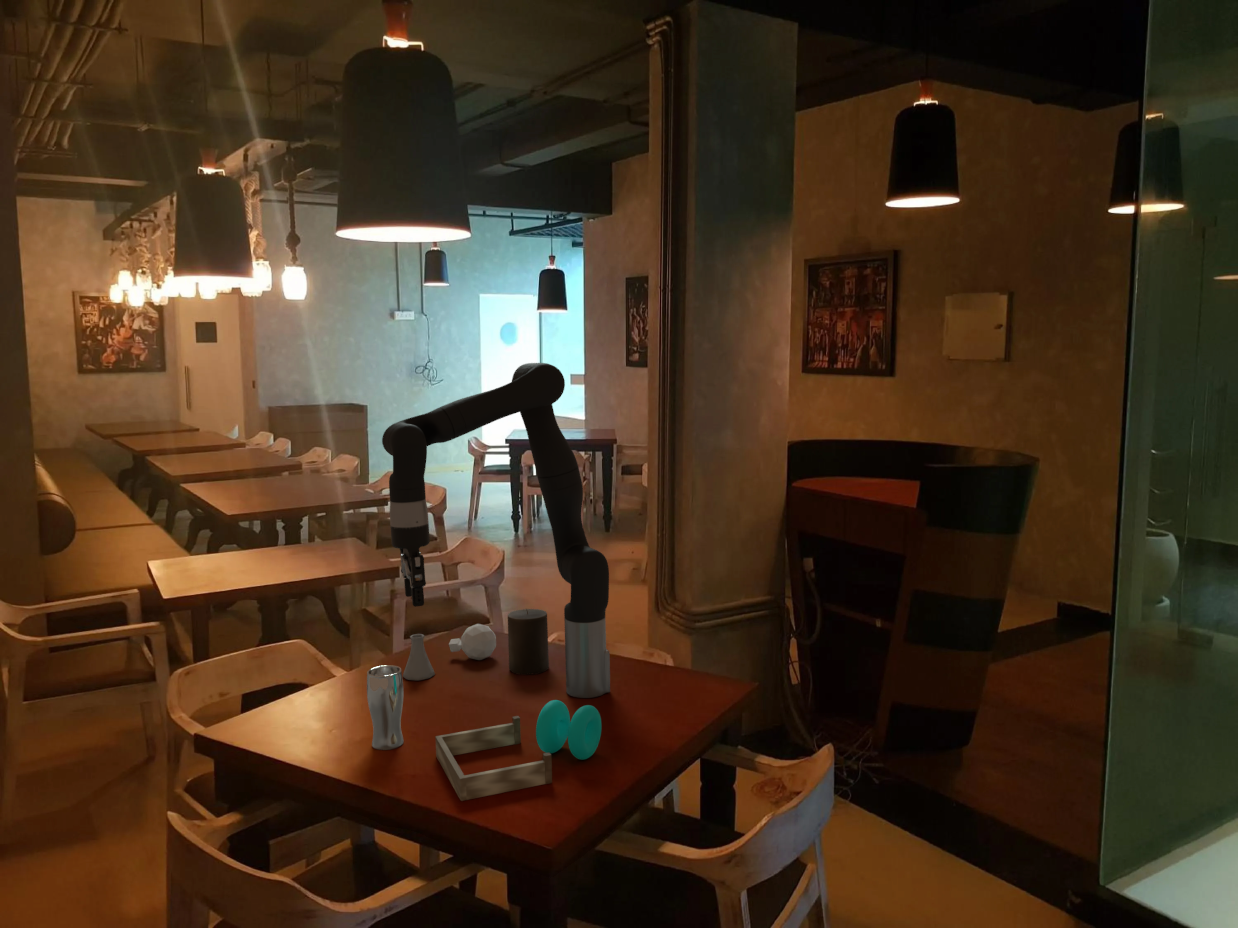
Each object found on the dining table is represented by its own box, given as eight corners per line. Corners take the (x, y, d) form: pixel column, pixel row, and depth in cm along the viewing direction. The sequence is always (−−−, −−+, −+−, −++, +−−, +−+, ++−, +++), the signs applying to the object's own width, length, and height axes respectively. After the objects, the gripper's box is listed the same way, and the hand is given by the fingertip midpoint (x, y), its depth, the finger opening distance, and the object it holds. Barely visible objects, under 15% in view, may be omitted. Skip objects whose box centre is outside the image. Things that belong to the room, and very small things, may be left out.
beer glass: (372, 753, 182) (368, 678, 180) (367, 740, 188) (363, 667, 187) (408, 747, 185) (405, 673, 183) (402, 734, 191) (398, 662, 189)
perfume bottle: (503, 644, 243) (459, 649, 245) (495, 615, 239) (450, 619, 241) (496, 665, 235) (450, 669, 237) (487, 635, 231) (441, 639, 233)
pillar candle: (536, 677, 224) (534, 615, 222) (501, 671, 228) (499, 611, 226) (556, 664, 232) (554, 605, 230) (522, 659, 236) (520, 601, 235)
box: (519, 740, 187) (518, 715, 186) (552, 782, 168) (551, 754, 168) (436, 755, 180) (435, 729, 180) (461, 801, 162) (459, 772, 161)
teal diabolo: (559, 740, 187) (558, 691, 186) (604, 748, 183) (603, 698, 181) (533, 760, 178) (532, 709, 177) (580, 769, 174) (579, 717, 172)
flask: (419, 669, 231) (418, 629, 230) (440, 674, 227) (438, 634, 225) (397, 677, 225) (395, 637, 224) (417, 683, 221) (416, 642, 220)
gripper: (435, 526, 184) (440, 606, 186) (421, 515, 197) (426, 590, 199) (396, 530, 181) (401, 612, 183) (385, 518, 195) (390, 595, 197)
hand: (414, 600), depth 191 cm, fingers open, 8 cm apart
